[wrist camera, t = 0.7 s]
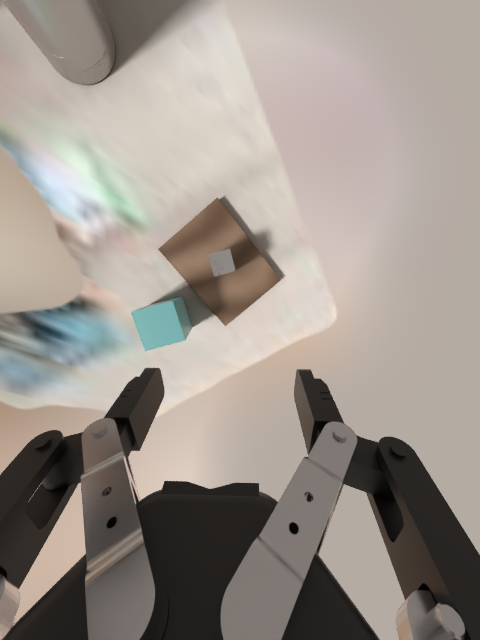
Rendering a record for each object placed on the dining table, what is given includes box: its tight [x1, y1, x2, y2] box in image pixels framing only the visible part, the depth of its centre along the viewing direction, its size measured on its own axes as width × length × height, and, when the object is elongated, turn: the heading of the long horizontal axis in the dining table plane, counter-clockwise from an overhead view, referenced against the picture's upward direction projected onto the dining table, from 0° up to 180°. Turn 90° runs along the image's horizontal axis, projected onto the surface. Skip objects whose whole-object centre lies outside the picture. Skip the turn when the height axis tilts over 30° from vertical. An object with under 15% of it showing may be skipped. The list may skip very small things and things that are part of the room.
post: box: [208, 249, 236, 277], centre depth 33 cm, size 3×3×6 cm
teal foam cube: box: [131, 296, 192, 351], centre depth 34 cm, size 6×6×8 cm
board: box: [159, 198, 280, 326], centre depth 37 cm, size 16×12×1 cm
